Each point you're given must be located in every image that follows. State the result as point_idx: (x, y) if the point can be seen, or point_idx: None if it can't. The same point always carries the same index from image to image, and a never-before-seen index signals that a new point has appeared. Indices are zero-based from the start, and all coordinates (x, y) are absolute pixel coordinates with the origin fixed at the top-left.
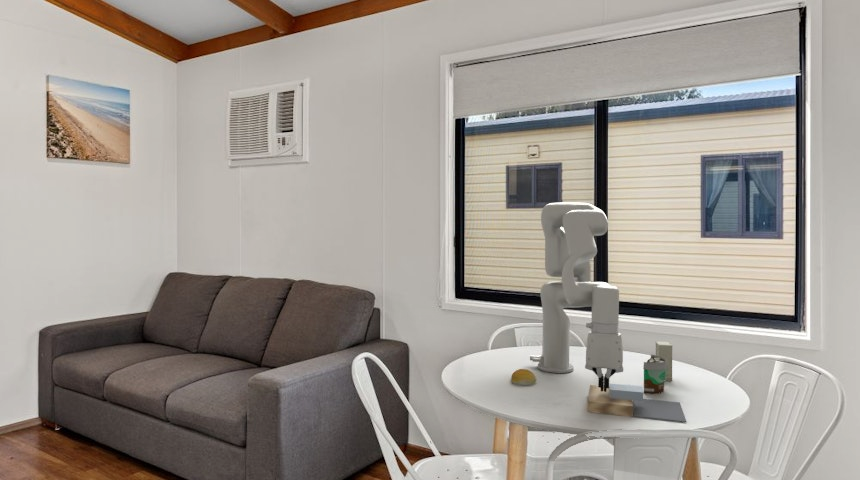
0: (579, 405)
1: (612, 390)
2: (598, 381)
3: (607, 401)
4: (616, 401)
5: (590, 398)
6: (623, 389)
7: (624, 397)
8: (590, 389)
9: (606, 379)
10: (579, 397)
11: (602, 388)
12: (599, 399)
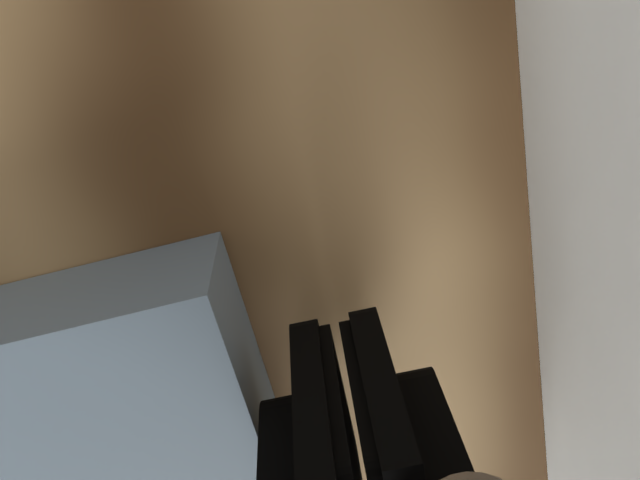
0: (579, 101)
1: (163, 301)
2: (455, 430)
3: (202, 57)
4: (81, 134)
5: (480, 62)
6: (4, 411)
7: (6, 296)
8: (530, 432)
9: (294, 471)
10: (602, 355)
11: (353, 334)
12: (340, 85)
